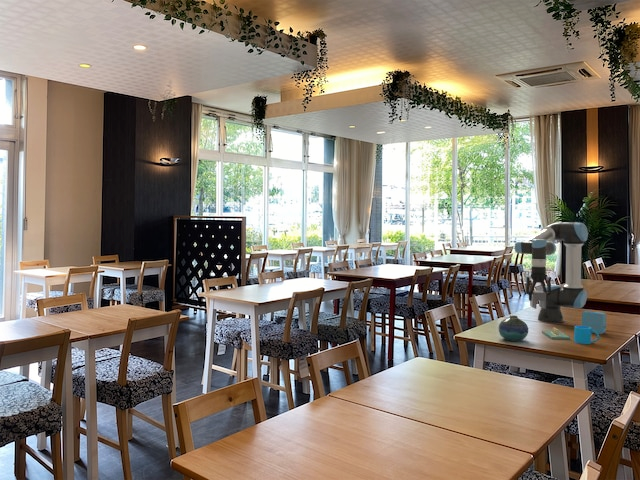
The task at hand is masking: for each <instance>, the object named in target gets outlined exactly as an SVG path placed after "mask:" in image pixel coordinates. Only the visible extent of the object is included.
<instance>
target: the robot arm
mask: <svg viewBox="0 0 640 480" xmlns="http://www.w3.org/2000/svg"><path fill="white" fill-rule="evenodd" d="M588 237H589V232H588V228H587V225H585V223H584V222H577V221H575V222H574V221H571V222H570V221H569V222H563V221H561V222H560V221H559V222H554V223H551V224H549V225H546V226H544V227H543V228H541V229H540V231H538V232H537V233H535V234H534V235H532V236H530V237H528V238H527V239H525V240H517V241H516V242H515V243H514V251H515V253H516V254H522V255H531V269H530V271H531V274H530V275H527V276H525V280H526V281H525V282H526V283H525V294H526V295H528V302H529V306H530V307H532V308H533V295H532V293H533V290H535V288H536V287H535V286H536V285H537V283H540V285H541V291H543V292H545V293H546V309H544V308H542V307H540V310H539V312H538V316H537V319H538V321H541V322H545V323H563V322H564V316H563V312H562V310H561V307H567V308H574V309H575V308H577V309H581V308H583V307H584V306H585V305H586V302H587V298H588V292H587V290H586V289H584V286H583V284H582V247H583V246H584V245H585V242H587V240H588ZM553 241H563V245H564V246H565V284H564V285H557V284H554V285H553V284H552V283H551V281H552V277H551V276H547V268H546V266H547V256H551V255H553V254H555V253H556V251H557V247H556V244H555V243H554V242H553ZM531 279H532V283H531ZM545 280H546V283H545ZM530 283H531V285H530ZM551 284H552V285H551Z"/></svg>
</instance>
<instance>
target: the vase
mask: <svg viewBox="0 0 640 480" xmlns="http://www.w3.org/2000/svg"><path fill="white" fill-rule="evenodd" d="M497 329H498V332H499V335H500V336H501V337H502V338H503V339H504V340H506V341H510V342H520V341H523V340H525V339H526V338H527V336H528V334H529V327H528V325H527V323H526V322H525V321H523V320H522V319H521V318H519V317H518V315H513V314H512V315H509V317H507V318H505V319H502V320H501V321H500V323H499V324H498V327H497Z"/></svg>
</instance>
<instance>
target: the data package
mask: <svg viewBox="0 0 640 480" xmlns="http://www.w3.org/2000/svg"><path fill="white" fill-rule="evenodd" d="M580 326H588V327H591V329H592V330H594V331H596V332H597V333H598V334H599V335H602V334H605V333H606V332H607V314H606V313H605V312H599V311H593V310H585V311H582V313H581V324H580ZM591 334H596V333H595V332H593V331H591Z"/></svg>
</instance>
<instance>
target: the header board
mask: <svg viewBox="0 0 640 480" xmlns="http://www.w3.org/2000/svg"><path fill="white" fill-rule="evenodd" d="M541 334H543V335H545V336H546V337H548V338H549V339H550V340H571V337H570V336H568V335H567V334H565V333H563V332H562V331H561V330H560V329H558V328H557V327H552V330H541Z"/></svg>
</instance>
